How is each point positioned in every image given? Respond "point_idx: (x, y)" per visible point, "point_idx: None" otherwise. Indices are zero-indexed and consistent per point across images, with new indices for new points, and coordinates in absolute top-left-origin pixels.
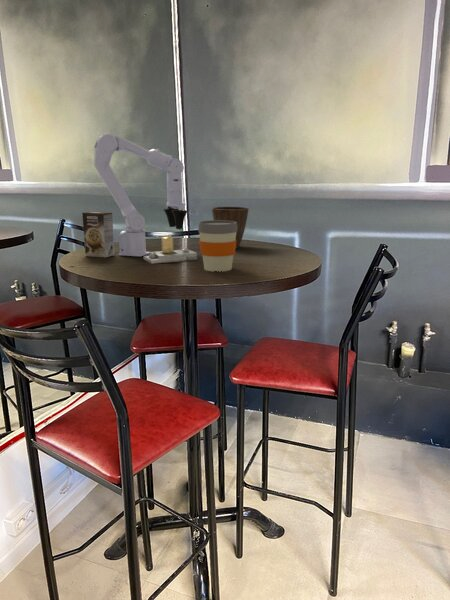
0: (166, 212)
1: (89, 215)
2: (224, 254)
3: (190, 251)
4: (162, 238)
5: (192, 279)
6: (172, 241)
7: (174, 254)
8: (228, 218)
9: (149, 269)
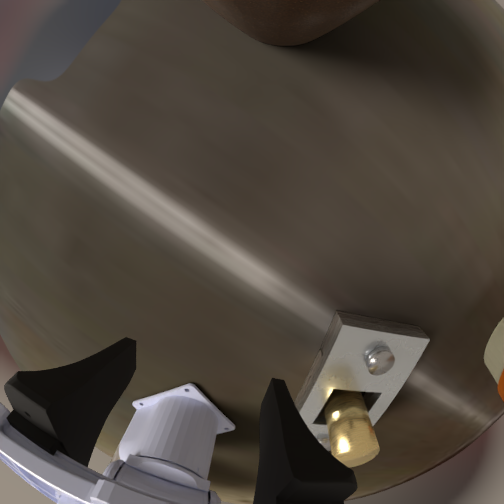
0: (91, 453)
1: None
2: None
3: (392, 343)
4: (351, 465)
5: (491, 408)
6: (375, 435)
7: (383, 405)
8: None
9: (388, 449)
